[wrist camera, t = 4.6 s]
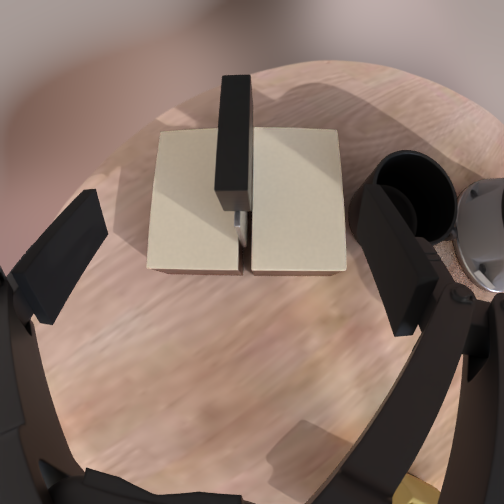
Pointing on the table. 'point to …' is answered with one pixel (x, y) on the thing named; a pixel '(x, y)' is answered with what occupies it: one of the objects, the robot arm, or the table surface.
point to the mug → (414, 195)
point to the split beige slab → (263, 206)
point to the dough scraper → (235, 150)
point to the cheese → (415, 492)
